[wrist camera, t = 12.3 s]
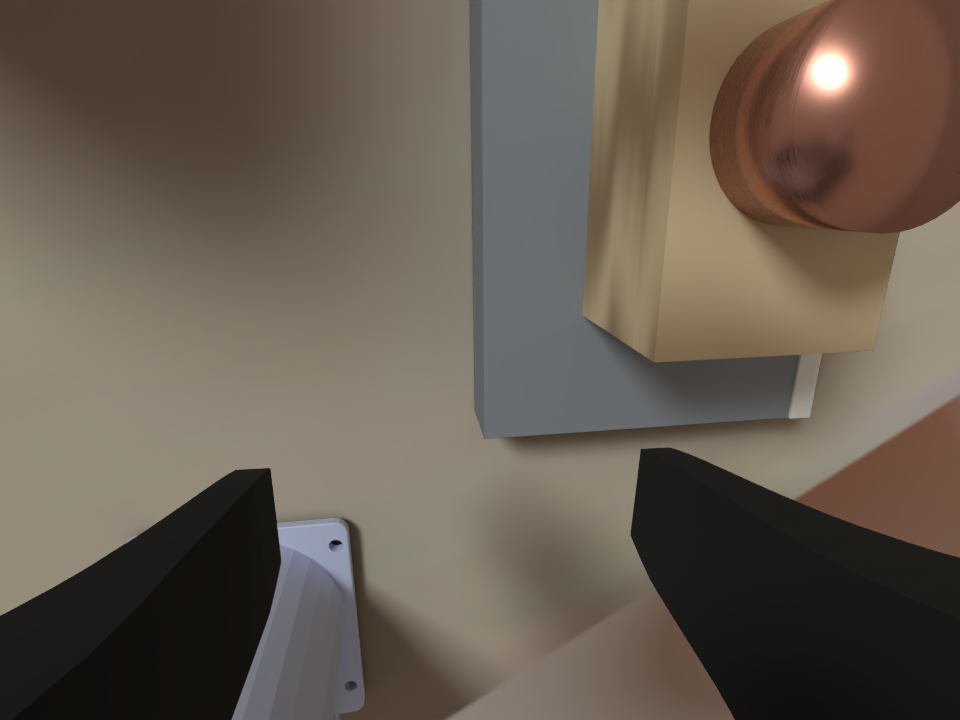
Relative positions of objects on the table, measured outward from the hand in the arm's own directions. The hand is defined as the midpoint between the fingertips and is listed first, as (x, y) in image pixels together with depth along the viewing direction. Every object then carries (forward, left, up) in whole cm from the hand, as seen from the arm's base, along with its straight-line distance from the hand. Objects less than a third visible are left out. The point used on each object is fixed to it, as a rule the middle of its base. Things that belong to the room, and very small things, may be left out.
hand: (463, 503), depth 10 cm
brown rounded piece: (+7, -7, -2) cm, 10 cm away
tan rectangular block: (+7, -7, -7) cm, 12 cm away
